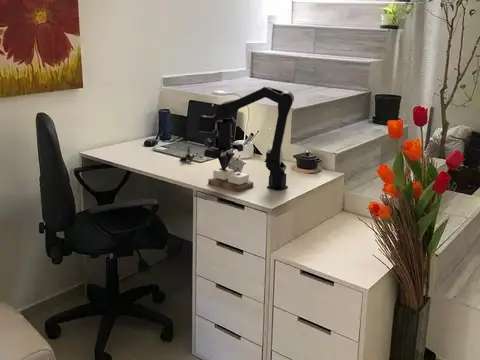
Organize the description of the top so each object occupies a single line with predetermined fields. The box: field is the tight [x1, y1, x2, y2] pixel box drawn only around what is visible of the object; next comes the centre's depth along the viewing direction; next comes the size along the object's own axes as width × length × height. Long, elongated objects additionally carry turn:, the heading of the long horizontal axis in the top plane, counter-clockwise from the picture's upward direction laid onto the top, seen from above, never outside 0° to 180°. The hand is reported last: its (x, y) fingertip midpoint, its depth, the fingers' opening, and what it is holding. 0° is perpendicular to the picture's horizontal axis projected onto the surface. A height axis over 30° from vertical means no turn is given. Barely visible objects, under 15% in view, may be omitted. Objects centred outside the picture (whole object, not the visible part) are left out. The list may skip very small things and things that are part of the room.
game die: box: [227, 154, 247, 173], centre depth 256 cm, size 9×8×10 cm
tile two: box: [212, 167, 234, 180], centre depth 241 cm, size 6×6×3 cm
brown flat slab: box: [207, 177, 254, 193], centre depth 239 cm, size 16×10×2 cm, turn 51°
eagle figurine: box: [179, 146, 199, 164], centre depth 274 cm, size 8×7×9 cm
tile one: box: [228, 172, 250, 185], centre depth 236 cm, size 6×6×3 cm
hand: (223, 170), depth 240 cm, fingers closed, pressing on tile two
